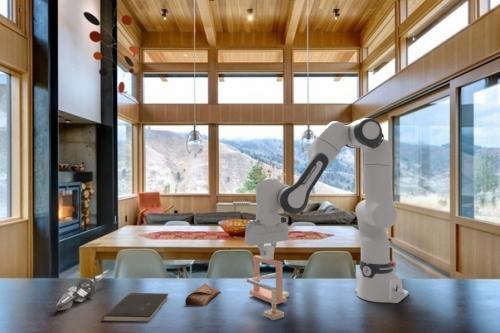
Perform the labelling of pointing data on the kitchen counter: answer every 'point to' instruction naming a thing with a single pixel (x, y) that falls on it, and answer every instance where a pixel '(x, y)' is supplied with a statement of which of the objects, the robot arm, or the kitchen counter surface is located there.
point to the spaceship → (80, 291)
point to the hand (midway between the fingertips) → (267, 254)
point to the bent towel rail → (273, 312)
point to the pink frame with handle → (268, 259)
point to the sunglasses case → (202, 296)
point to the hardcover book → (136, 307)
